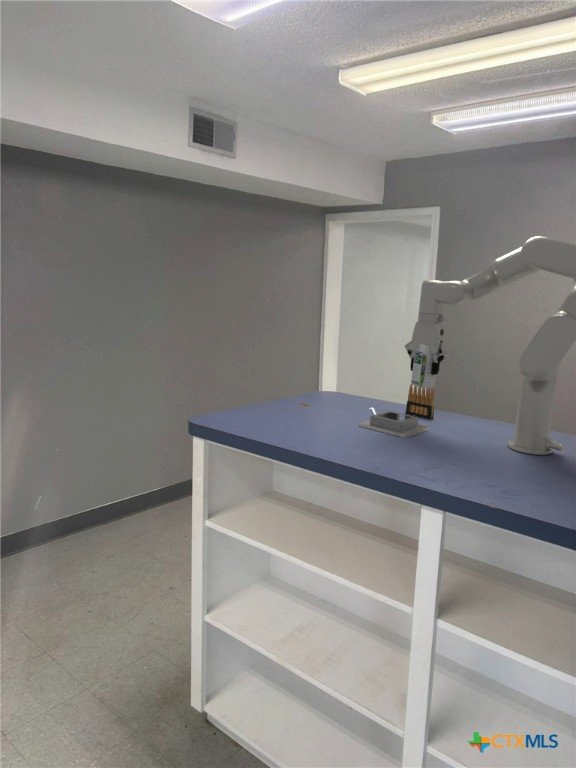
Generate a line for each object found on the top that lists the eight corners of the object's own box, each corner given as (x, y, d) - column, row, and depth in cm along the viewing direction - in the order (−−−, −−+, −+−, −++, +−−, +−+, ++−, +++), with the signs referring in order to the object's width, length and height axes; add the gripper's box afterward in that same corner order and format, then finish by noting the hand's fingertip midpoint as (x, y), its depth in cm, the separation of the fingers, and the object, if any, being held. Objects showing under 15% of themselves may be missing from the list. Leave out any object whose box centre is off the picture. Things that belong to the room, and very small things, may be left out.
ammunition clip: (433, 419, 194) (436, 386, 192) (430, 419, 193) (433, 387, 191) (408, 413, 202) (410, 382, 199) (405, 414, 200) (408, 382, 198)
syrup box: (410, 384, 179) (414, 341, 176) (424, 384, 181) (429, 341, 178) (420, 388, 174) (425, 344, 171) (435, 387, 176) (440, 344, 173)
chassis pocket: (428, 429, 179) (429, 418, 178) (405, 438, 168) (406, 425, 167) (383, 419, 191) (384, 408, 190) (358, 426, 180) (359, 414, 179)
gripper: (460, 321, 170) (453, 375, 173) (413, 316, 181) (407, 367, 185) (448, 321, 164) (441, 378, 168) (400, 316, 176) (395, 369, 180)
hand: (424, 372), depth 176 cm, fingers closed on syrup box, 7 cm apart
